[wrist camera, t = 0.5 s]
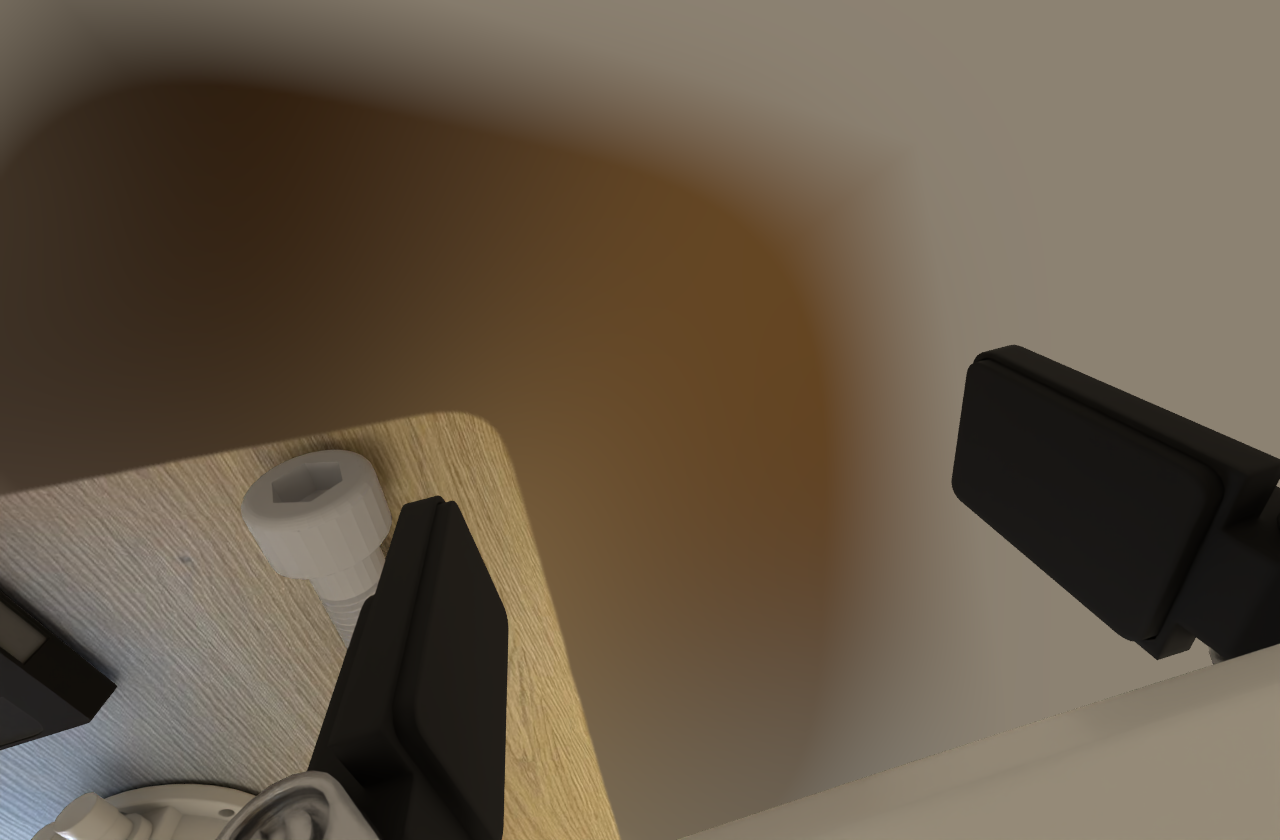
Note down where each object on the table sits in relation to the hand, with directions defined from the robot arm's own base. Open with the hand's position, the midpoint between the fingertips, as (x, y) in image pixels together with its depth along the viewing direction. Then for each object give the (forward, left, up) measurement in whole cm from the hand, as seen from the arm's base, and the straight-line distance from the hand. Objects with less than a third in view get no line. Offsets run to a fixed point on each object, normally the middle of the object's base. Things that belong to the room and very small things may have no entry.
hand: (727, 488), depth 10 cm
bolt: (+12, -15, -17) cm, 25 cm away
